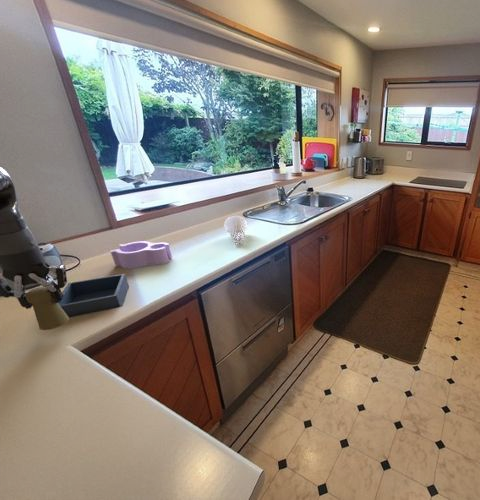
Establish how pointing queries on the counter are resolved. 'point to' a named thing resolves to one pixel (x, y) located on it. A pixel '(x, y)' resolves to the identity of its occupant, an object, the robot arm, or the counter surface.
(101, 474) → the counter surface
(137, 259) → the purple compartment tray
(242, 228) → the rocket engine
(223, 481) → the counter surface
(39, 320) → the cork
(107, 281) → the tub
